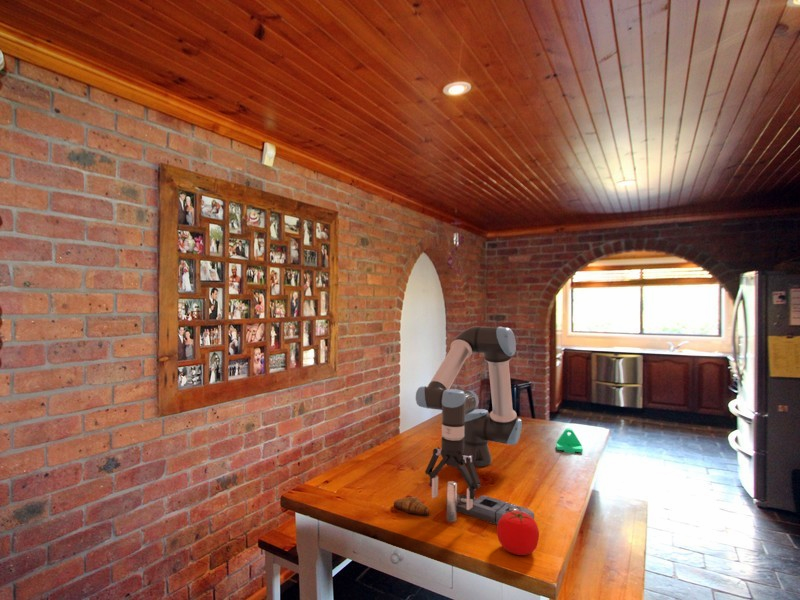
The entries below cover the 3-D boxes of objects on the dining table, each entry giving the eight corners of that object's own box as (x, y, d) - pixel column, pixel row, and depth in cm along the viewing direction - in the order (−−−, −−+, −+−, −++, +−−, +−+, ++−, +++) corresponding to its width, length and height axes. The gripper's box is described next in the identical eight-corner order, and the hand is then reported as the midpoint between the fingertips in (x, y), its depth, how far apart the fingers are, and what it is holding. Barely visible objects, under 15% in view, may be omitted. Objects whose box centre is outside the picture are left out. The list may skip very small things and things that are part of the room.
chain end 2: (470, 515, 144) (470, 502, 144) (482, 506, 151) (482, 493, 152) (528, 535, 132) (528, 520, 132) (538, 524, 139) (538, 510, 140)
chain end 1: (442, 506, 151) (442, 498, 151) (455, 497, 158) (455, 490, 158) (495, 524, 139) (495, 516, 139) (506, 514, 146) (506, 506, 146)
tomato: (521, 566, 116) (521, 527, 116) (488, 546, 126) (489, 510, 126) (547, 552, 123) (548, 516, 123) (515, 535, 133) (515, 500, 133)
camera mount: (556, 451, 213) (557, 430, 214) (556, 447, 221) (556, 427, 221) (582, 454, 210) (583, 433, 210) (581, 449, 217) (581, 429, 217)
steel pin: (444, 520, 141) (445, 483, 141) (449, 516, 144) (450, 480, 144) (453, 523, 139) (453, 486, 139) (458, 519, 142) (458, 483, 142)
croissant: (433, 512, 147) (433, 497, 147) (424, 520, 141) (424, 505, 141) (399, 502, 153) (399, 488, 154) (389, 510, 148) (389, 495, 148)
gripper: (415, 432, 146) (414, 495, 146) (481, 447, 131) (480, 518, 131) (428, 428, 152) (426, 488, 152) (492, 442, 137) (491, 509, 137)
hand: (451, 502), depth 141 cm, fingers open, 12 cm apart
